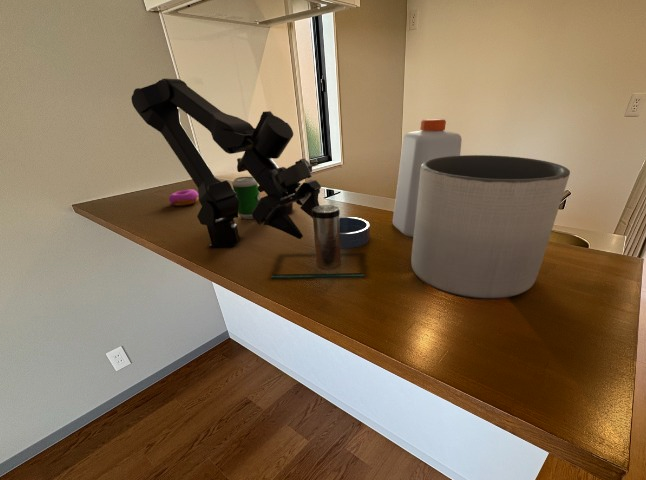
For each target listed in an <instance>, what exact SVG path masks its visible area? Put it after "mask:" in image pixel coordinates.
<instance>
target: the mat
mask: <svg viewBox="0 0 646 480" xmlns="http://www.w3.org/2000/svg"><path fill="white" fill-rule="evenodd" d="M349 278H350V279H351V278H352V279H353V278H358V279H359V278H365V272H352V273H351V272H349V273H348V272H346V273H342V272H341V273H292V274H291V273H288V274H285V273H282V274H281V273H280V274H272V275H271V280H283V279H284V280H290V279H294V280H295V279H296V280H297V279H349Z"/></svg>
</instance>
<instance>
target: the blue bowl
mask: <svg viewBox="0 0 646 480" xmlns="http://www.w3.org/2000/svg"><path fill="white" fill-rule="evenodd" d="M339 221H340V248H341V249H343V250H344V249H346V250H347V249H354V248H359V247H362V246H364V245H366V244H368V242H369V241H370V223H369V221H367V220H365V219H363V218H359V217H353V216H351V217H350V216H339Z"/></svg>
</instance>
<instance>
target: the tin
mask: <svg viewBox="0 0 646 480" xmlns="http://www.w3.org/2000/svg"><path fill="white" fill-rule="evenodd" d="M319 205H320V204H319ZM340 212H341V209H340V207H339V206H338V205H333V204H321V205H320V206H316V207H314V208H312V216H313V218H312V225H313V226H312V227H313V237H314V238H313V239H314V249H315V259H316V262H315V263H316V267H317V268H318V269H320V270H324V271H333V270H336V269H339V268H340V267H341V266H342V253H341V252H342V250H341V248H340V221H339V217H340V215H341V213H340Z"/></svg>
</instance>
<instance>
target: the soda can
mask: <svg viewBox="0 0 646 480" xmlns="http://www.w3.org/2000/svg"><path fill="white" fill-rule="evenodd" d="M231 184H232V189H233V190H234V192H236V193H237V195H236V196H237V198H238V200H239V208H238V216H240V217H241V218H242V219H243V220H254V219H253V216H252V210H253V209H254V207H255V206H256V204H257V203H258V202H259V200H260V199H261V197H260V192H259V190H258V189H257V188H258V187H259V184H258V183H257V182H256V180H255V179H254V178H253V177H252V176H239V177H236V178H234V180H233V181H232V183H231Z"/></svg>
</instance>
